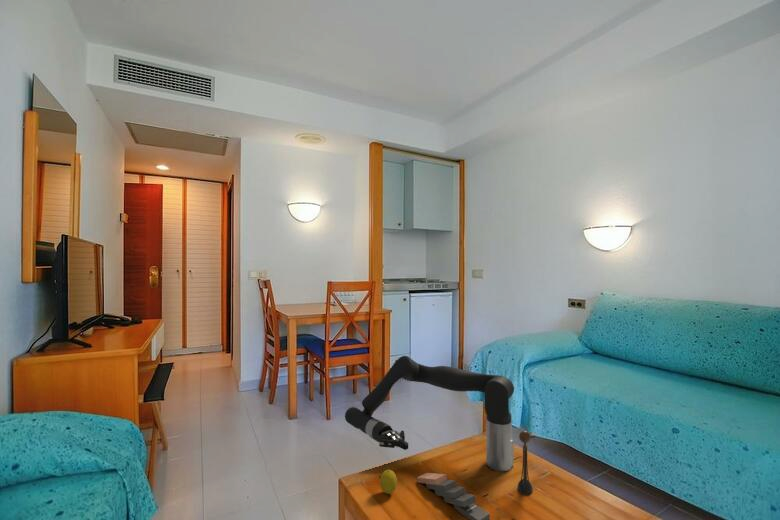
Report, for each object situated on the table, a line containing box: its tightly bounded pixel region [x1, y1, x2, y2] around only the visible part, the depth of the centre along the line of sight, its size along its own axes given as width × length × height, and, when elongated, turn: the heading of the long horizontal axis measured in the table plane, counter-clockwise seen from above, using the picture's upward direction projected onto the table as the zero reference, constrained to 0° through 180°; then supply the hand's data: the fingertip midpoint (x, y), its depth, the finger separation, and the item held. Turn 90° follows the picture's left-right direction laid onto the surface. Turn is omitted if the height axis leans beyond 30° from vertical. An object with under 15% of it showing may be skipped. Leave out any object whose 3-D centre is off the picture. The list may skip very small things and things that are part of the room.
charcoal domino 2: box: [434, 485, 467, 498], centre depth 118 cm, size 2×5×10 cm
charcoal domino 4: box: [453, 502, 491, 520], centre depth 112 cm, size 2×5×10 cm
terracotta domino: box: [416, 472, 448, 485], centre depth 125 cm, size 2×5×10 cm
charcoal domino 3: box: [443, 492, 477, 507], centre depth 115 cm, size 2×5×10 cm
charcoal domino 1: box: [425, 479, 458, 491], centre depth 122 cm, size 2×5×10 cm
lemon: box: [379, 469, 398, 495], centre depth 121 cm, size 6×6×8 cm
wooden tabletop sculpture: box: [517, 430, 536, 495], centre depth 124 cm, size 6×5×20 cm
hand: (406, 446), depth 136 cm, fingers closed
